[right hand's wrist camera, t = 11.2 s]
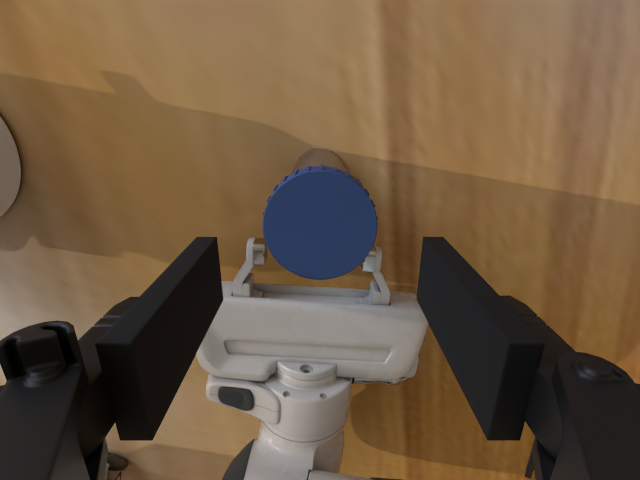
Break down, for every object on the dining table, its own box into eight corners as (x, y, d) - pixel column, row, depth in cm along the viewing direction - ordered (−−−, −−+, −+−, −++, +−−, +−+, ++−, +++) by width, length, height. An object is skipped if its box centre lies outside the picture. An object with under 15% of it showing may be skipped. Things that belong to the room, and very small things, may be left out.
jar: (284, 162, 33) (256, 202, 19) (333, 139, 32) (344, 163, 18) (307, 210, 34) (297, 280, 20) (354, 189, 34) (380, 247, 20)
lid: (246, 192, 20) (240, 199, 18) (349, 145, 19) (352, 148, 17) (294, 282, 22) (292, 296, 20) (389, 244, 21) (395, 255, 19)
